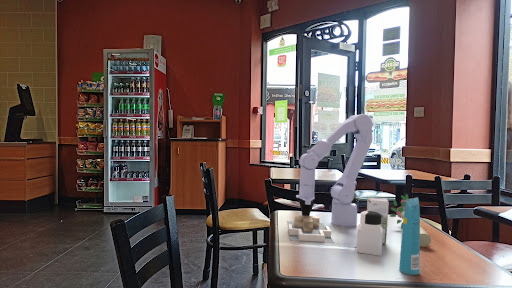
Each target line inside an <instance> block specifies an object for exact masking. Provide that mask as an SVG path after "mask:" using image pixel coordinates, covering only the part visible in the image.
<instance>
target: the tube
mask: <svg viewBox="0 0 512 288" xmlns="http://www.w3.org/2000/svg"><path fill="white" fill-rule="evenodd" d="M419 201H420V200H419V197H418V196H417V197H414V198H408V200H406V205H404V206H405V211H404V219H402V220H403V222H402V223H403V229H401V230H402V231H401V243H400V244H401V245H400V254H399V256H400V257H399V264H398V268H399V271H400V272H401V273H402V272H403V273H402V274H405V275H410V276H411V275H412V276H414V275H416V276H417V275H420V268H421V267H420V265H421V263H420V262H421V261H420V257H421V247H420V226H421V217H420V216H421V214H420V210H421V209H420V202H419Z"/></svg>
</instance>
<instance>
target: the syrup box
mask: <svg viewBox="0 0 512 288" xmlns="http://www.w3.org/2000/svg"><path fill="white" fill-rule="evenodd" d="M366 201H367V203H366V204H367V205H366V211H374V212H378V213H380V214H381V227H382V228H383V236H382V245H383V244H384V245H386V244H387V234H388V217H389V205H390V204H389V203H390V202H389V200H388V199H387V198H384V197H370V196H369V197H367V200H366Z"/></svg>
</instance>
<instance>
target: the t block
mask: <svg viewBox="0 0 512 288" xmlns="http://www.w3.org/2000/svg"><path fill="white" fill-rule="evenodd" d="M293 218H294V221H293V222H294V226H297V227H303V229H304V231H311V232H313V227H315V228H319V223H320V217H319V216H316V215H314V216H313V215H310V216H302V215H301V214H300V215H298V214H297V215H295V214H294V217H293Z"/></svg>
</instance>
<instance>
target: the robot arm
mask: <svg viewBox="0 0 512 288" xmlns="http://www.w3.org/2000/svg"><path fill="white" fill-rule="evenodd" d="M373 126H374V123H373V121H372V118H371V117H370V116H369V115H368V114H365V113H361V114H356V115H355V114H353V115H350V116H349V117H348V118H346V119H345V120H344V121H343V122H342V123H341V124H339V126H338V127H337V128H336V129H335V130H334V131H332V133H331V134H330V135H329V136H328V137H327V138H325V139H320V140H317V141H315V144H314V145H313V146H312V147H311V148H310V149H307V150H306V152H307V153H303V154H302V155H301V156H300V157H299V160H298V164H299V166H300V173H299V193H298V194H296V196H295V197H296V198H297V199H300V200H298V203H299V205H300V210H301V216H311V215H310V214H311V211H312V209H313V207H314V206H315V203H314V201H313V200H315V187H316V186H315V185H316V182H315V181H316V168H317V167H318V165H319V162H320V161H322V159H323V158H325V157H326V156H327V155H328V154H329V153H330V152H331V151H332V146H333V145H335V143H336V142H338V141H339V140H340V139H342V138H343V137H344V136H345V135H346V134H348V133H353V135H354V136H355V139H356V142H355V145H354V148H353V150H352V152H351V154H350V157H349V159H348V161H347V163H346V165H345V168H344V170H343V172H342V175H341V176H340V178H338V179H337V181H336V183H335V184H334V185H332V187H331V189H330V196H331V197H332V200H331V201H332V202H331V222H330V223H331V224H332V225H334V226H341V227H343V226H344V227H349V226H350V227H357V226H358V225H357V222H358V207H357V204H356V203H352V202H353V201H354V198H355V190H356V179H357V177H358V175H359V172H360V171H361V168H362V166H363V163H364V161H365V159H366V157H367V154H368V152H369V150H370V147H371V145H372V142H373Z"/></svg>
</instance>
